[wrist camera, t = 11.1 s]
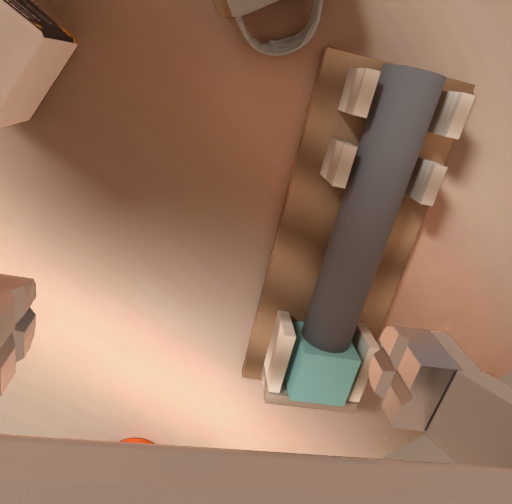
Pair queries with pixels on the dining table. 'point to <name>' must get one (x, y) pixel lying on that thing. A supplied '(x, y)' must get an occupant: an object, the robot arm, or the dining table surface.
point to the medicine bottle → (28, 58)
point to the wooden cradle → (325, 212)
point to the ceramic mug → (241, 3)
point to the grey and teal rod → (361, 234)
